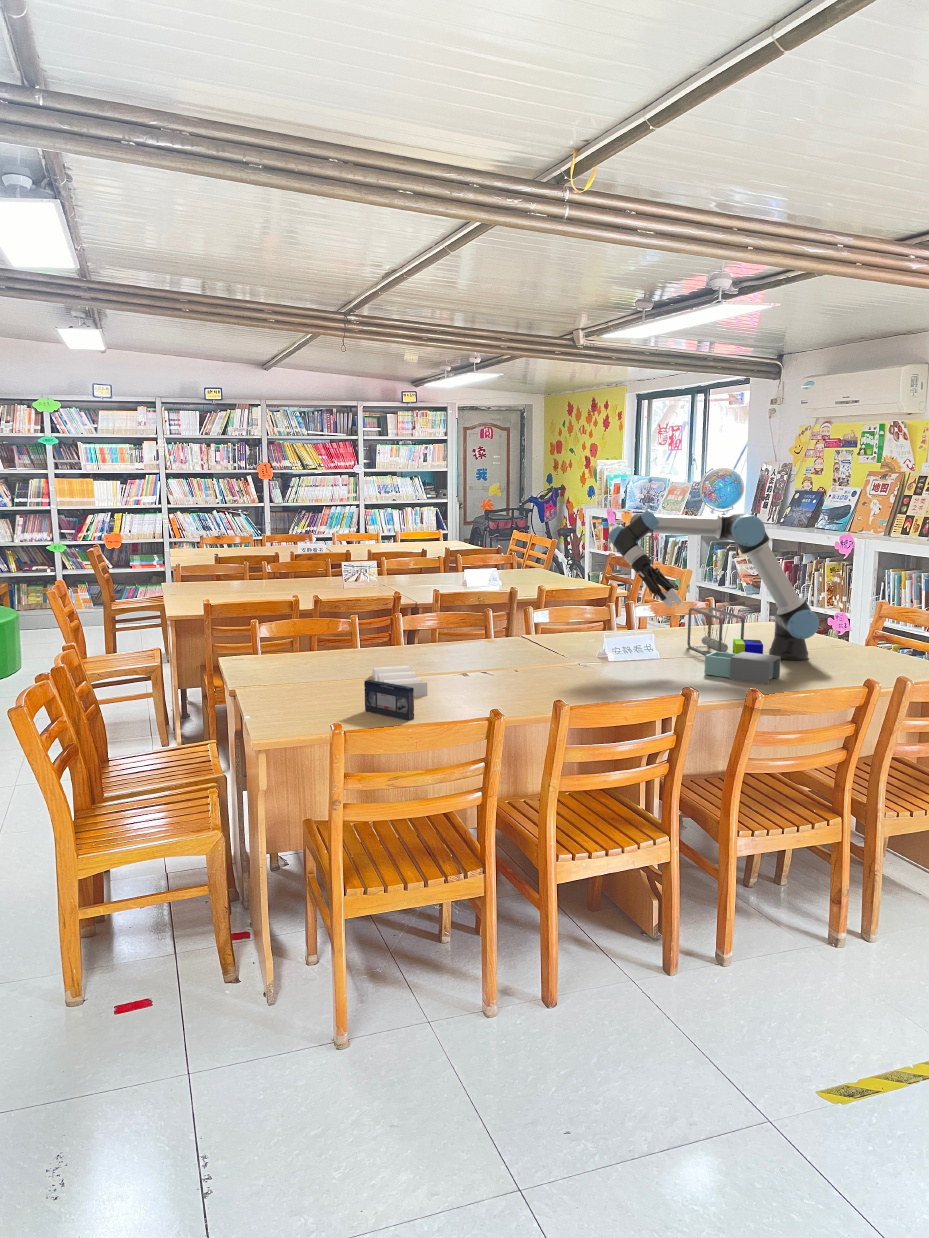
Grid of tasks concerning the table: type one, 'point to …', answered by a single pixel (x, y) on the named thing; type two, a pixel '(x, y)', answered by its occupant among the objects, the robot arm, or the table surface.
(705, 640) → the newton's cradle
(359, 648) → the table surface
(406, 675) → the file organizer
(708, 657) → the sliding matchbox
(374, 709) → the vhs cassette tape
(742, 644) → the puzzle toy
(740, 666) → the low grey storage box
